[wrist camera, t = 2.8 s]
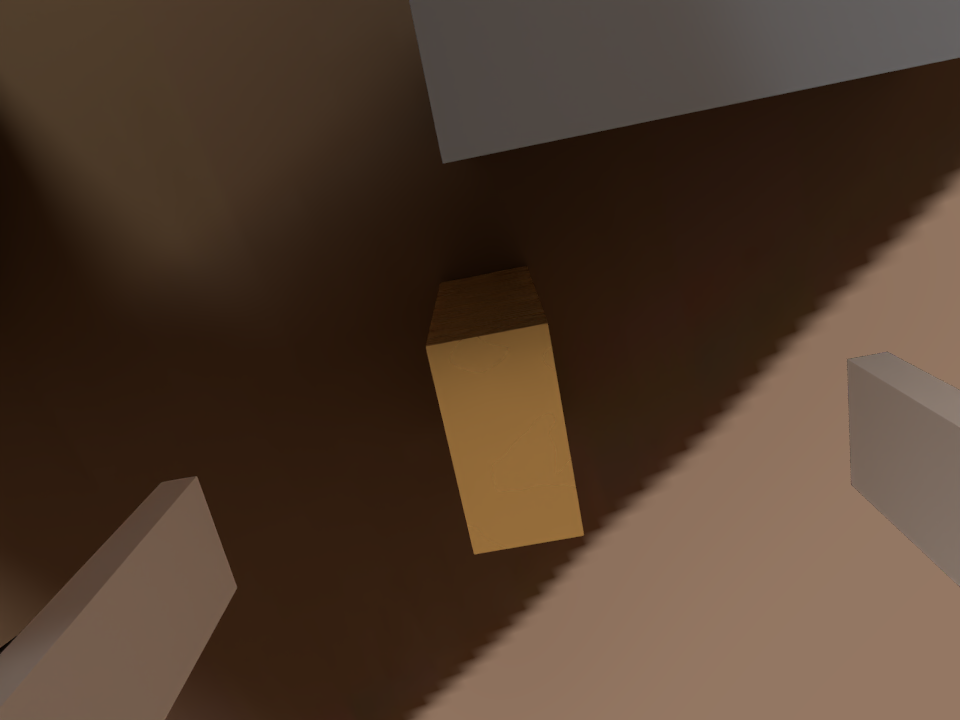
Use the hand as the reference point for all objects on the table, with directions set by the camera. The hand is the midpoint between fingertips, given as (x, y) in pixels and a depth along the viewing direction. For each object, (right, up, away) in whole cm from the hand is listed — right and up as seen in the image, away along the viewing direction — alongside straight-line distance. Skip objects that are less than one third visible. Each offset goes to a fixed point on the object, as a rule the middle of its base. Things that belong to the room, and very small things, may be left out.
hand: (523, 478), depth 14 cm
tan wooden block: (0, +2, +6) cm, 7 cm away
